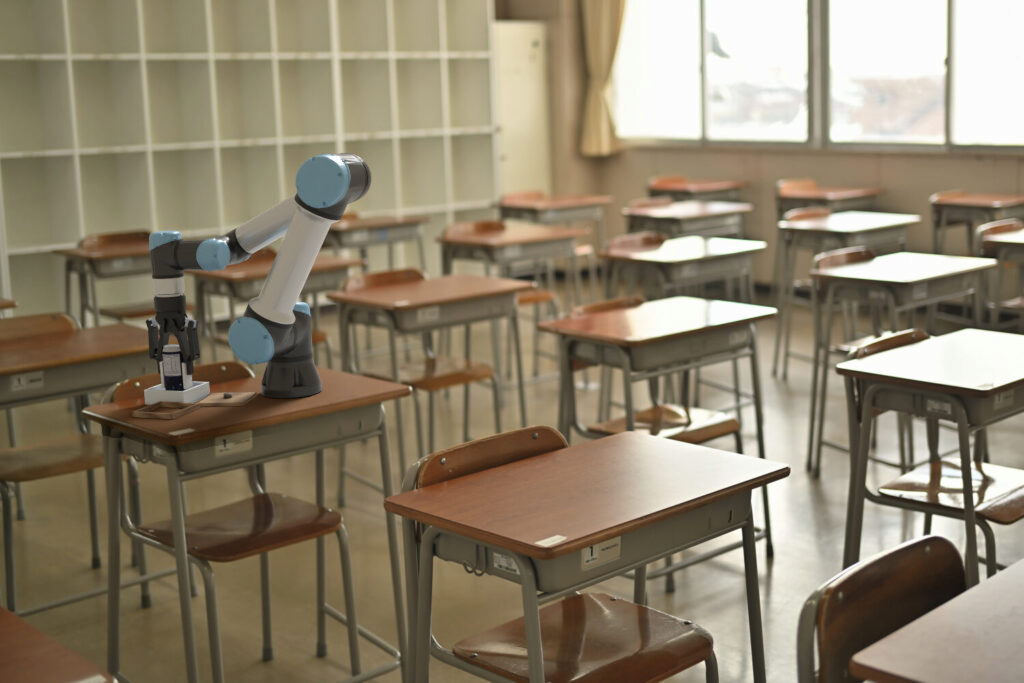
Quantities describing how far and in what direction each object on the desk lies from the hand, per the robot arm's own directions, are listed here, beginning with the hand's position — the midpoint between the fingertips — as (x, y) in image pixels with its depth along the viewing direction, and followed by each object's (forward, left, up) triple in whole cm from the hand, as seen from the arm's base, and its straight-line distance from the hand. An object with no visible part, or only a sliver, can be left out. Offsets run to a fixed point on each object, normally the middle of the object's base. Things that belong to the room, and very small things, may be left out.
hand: (177, 387), depth 293 cm
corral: (-5, +12, -3) cm, 13 cm away
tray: (0, 0, -3) cm, 3 cm away
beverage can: (0, 0, -2) cm, 2 cm away
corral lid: (-13, -2, -3) cm, 13 cm away
